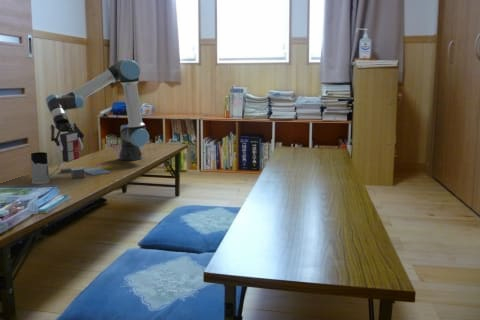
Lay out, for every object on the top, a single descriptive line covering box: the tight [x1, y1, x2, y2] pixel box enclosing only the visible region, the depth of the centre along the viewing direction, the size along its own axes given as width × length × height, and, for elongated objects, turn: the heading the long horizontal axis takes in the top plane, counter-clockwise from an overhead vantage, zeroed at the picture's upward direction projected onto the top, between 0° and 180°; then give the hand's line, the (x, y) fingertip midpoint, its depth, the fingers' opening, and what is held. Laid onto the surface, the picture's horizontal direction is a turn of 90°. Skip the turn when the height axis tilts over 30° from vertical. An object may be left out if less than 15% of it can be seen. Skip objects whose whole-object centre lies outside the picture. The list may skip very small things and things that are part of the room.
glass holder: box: [30, 151, 61, 185], centre depth 226 cm, size 9×14×15 cm, turn 111°
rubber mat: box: [84, 167, 112, 176], centre depth 254 cm, size 11×16×1 cm
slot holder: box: [59, 166, 85, 179], centre depth 245 cm, size 6×20×5 cm, turn 41°
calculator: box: [59, 132, 80, 163], centre depth 242 cm, size 11×4×15 cm, turn 169°
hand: (72, 148), depth 240 cm, fingers closed on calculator, 10 cm apart
